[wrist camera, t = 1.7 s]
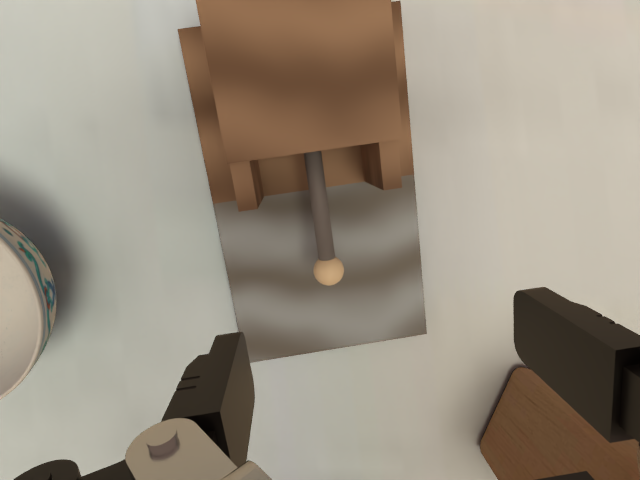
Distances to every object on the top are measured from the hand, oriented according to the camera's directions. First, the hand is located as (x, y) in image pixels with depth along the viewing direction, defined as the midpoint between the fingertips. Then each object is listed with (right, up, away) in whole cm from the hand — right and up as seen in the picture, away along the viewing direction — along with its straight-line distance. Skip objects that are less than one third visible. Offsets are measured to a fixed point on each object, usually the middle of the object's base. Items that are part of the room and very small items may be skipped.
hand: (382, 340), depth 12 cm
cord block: (-3, +9, +19) cm, 21 cm away
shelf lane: (-2, +7, +21) cm, 22 cm away
